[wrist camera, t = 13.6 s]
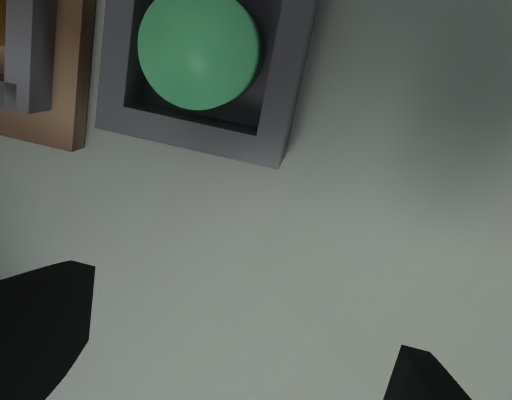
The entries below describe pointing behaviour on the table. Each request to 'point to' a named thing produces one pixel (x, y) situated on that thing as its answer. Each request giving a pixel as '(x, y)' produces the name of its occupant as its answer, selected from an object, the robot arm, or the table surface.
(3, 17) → the block
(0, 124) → the framed wooden tray
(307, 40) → the button housing
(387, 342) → the table surface
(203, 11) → the button
